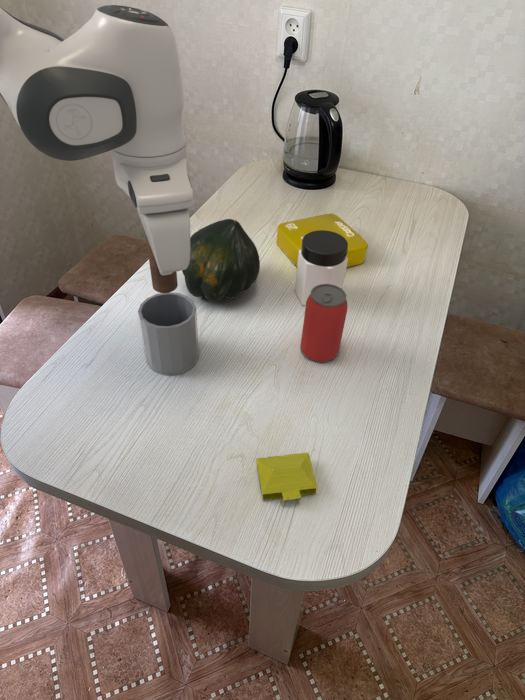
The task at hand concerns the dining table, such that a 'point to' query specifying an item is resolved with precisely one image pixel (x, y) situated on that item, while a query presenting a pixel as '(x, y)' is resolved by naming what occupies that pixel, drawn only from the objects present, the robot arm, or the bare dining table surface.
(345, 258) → the jar
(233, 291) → the squash
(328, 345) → the beer can
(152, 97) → the robot arm
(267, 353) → the dining table surface
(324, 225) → the yellow box
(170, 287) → the brown bottle
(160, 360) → the steel cup
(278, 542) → the dining table surface
